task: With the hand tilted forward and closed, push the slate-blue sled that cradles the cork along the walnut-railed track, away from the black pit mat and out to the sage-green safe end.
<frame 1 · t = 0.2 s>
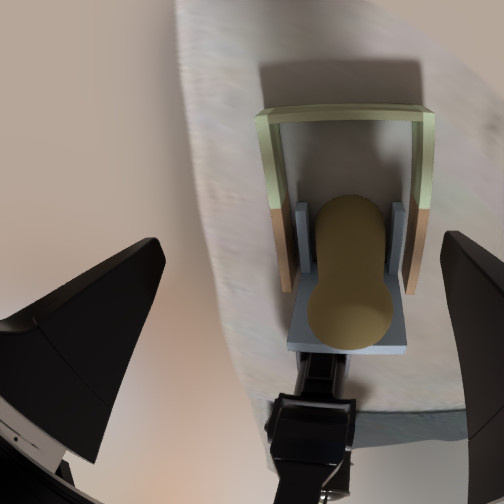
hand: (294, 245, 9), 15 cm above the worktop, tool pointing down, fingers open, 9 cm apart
track: (349, 195, 23), on the worktop
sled: (350, 274, 21), point 5 cm above the worktop, slide at 0.0 cm
cork: (350, 227, 25), on the worktop
drinking cup: (337, 423, 47), on the worktop
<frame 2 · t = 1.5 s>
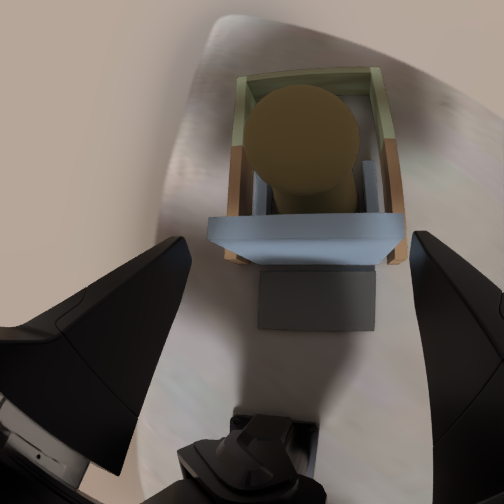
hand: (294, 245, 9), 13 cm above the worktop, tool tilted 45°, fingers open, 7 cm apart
track: (316, 164, 22), on the worktop
pit mat: (317, 301, 21), on the worktop
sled: (312, 193, 17), point 5 cm above the worktop, slide at 0.0 cm
cork: (317, 203, 22), on the worktop
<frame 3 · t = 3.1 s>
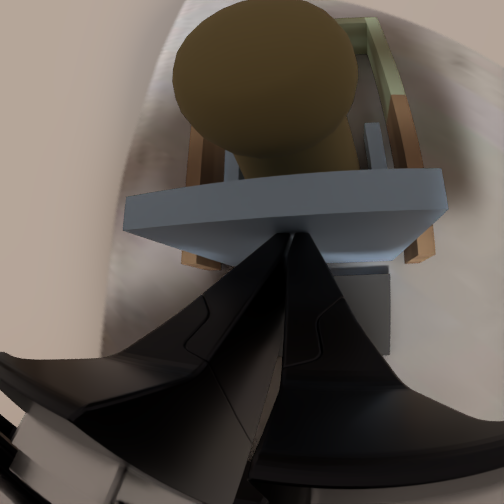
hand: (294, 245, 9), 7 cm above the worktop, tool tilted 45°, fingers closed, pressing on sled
track: (304, 136, 17), on the worktop
pit mat: (311, 316, 15), on the worktop
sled: (294, 162, 12), point 5 cm above the worktop, slide at 0.2 cm, touching gripper
cork: (308, 185, 17), on the worktop
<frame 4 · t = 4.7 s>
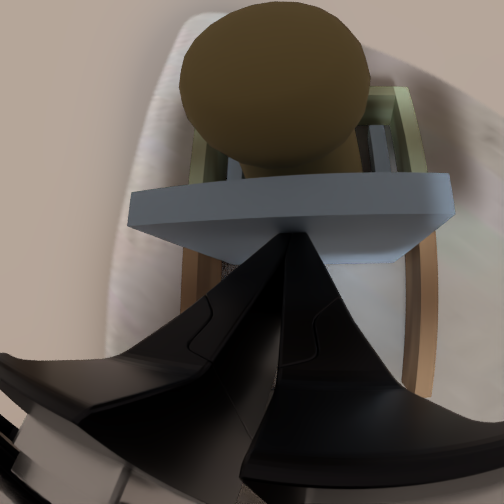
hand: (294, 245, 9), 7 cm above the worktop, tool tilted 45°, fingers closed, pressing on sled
track: (311, 237, 16), on the worktop
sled: (299, 162, 12), point 5 cm above the worktop, slide at 6.1 cm, touching gripper, cork
cork: (310, 191, 16), on the worktop, touching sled
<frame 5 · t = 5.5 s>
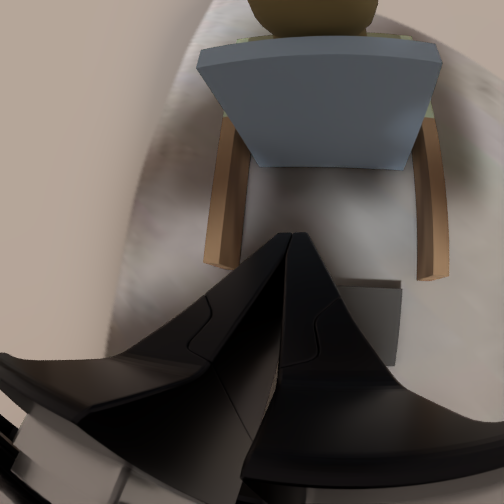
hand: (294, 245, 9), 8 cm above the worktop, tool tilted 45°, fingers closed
track: (331, 146, 17), on the worktop
pit mat: (323, 323, 16), on the worktop
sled: (325, 69, 13), point 5 cm above the worktop, slide at 6.1 cm
cork: (330, 113, 18), on the worktop
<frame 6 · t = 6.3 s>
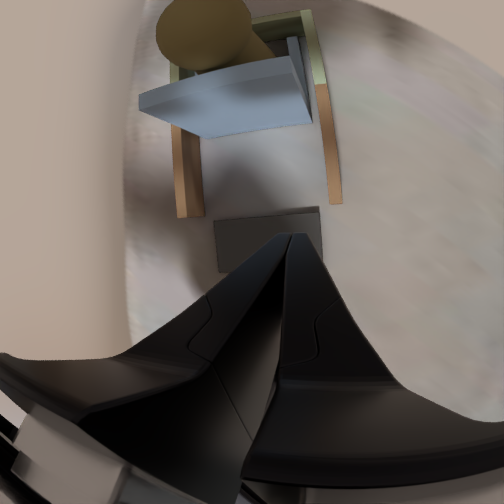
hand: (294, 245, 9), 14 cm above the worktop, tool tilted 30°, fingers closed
track: (255, 114, 22), on the worktop
pit mat: (267, 243, 23), on the worktop
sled: (233, 66, 17), point 5 cm above the worktop, slide at 6.1 cm
cork: (253, 85, 22), on the worktop
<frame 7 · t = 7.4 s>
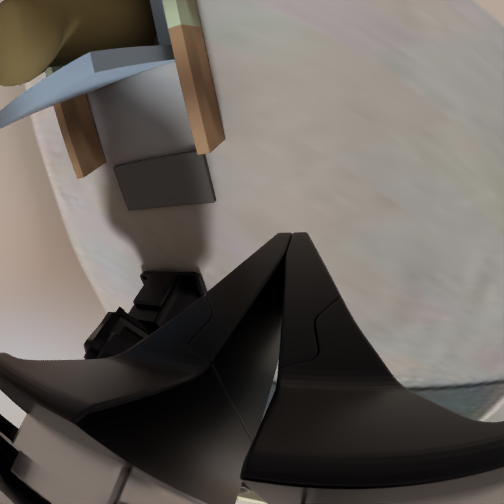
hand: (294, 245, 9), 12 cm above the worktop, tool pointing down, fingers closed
track: (129, 58, 17), on the worktop
pit mat: (162, 181, 23), on the worktop
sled: (80, 35, 12), point 5 cm above the worktop, slide at 6.1 cm
cork: (124, 27, 16), on the worktop
can: (257, 457, 61), on the worktop
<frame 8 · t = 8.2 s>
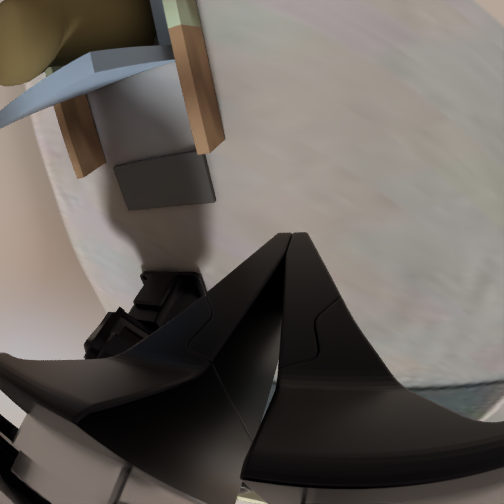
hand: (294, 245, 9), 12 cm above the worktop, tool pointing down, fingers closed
track: (129, 58, 17), on the worktop
pit mat: (162, 181, 23), on the worktop
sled: (80, 35, 12), point 5 cm above the worktop, slide at 6.1 cm
cork: (124, 27, 16), on the worktop
can: (257, 457, 61), on the worktop
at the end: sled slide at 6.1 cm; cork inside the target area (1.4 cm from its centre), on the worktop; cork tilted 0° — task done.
